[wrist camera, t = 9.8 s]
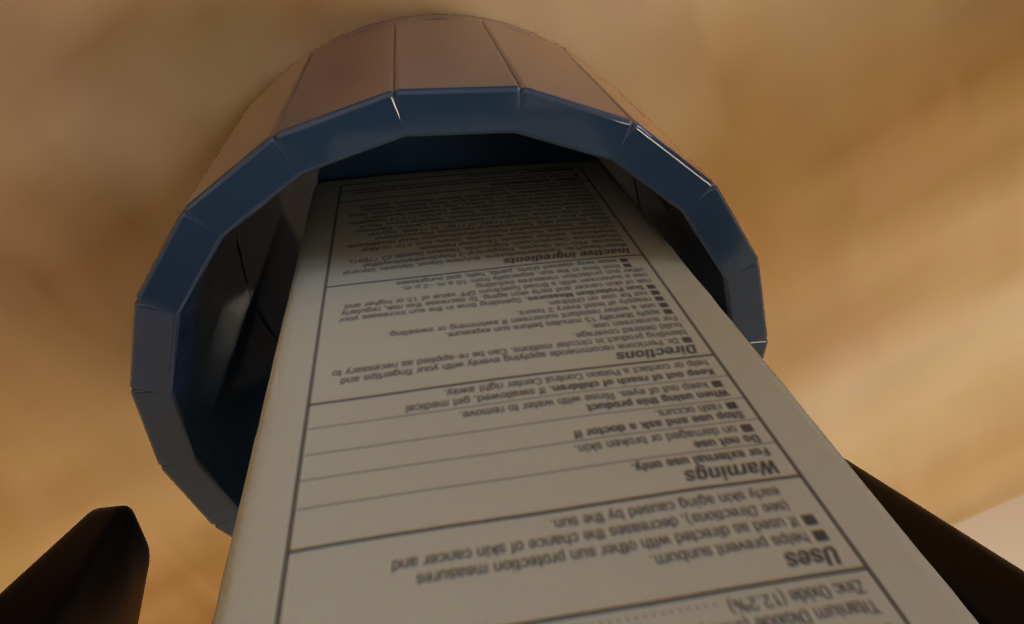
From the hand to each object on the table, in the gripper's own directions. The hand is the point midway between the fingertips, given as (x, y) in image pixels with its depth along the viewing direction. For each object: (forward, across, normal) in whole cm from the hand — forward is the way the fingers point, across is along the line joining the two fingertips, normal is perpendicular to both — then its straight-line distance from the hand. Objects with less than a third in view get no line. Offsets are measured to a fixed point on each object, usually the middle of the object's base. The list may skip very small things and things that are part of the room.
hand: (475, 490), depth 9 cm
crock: (+7, 0, 0) cm, 7 cm away
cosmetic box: (+7, -1, 0) cm, 7 cm away
